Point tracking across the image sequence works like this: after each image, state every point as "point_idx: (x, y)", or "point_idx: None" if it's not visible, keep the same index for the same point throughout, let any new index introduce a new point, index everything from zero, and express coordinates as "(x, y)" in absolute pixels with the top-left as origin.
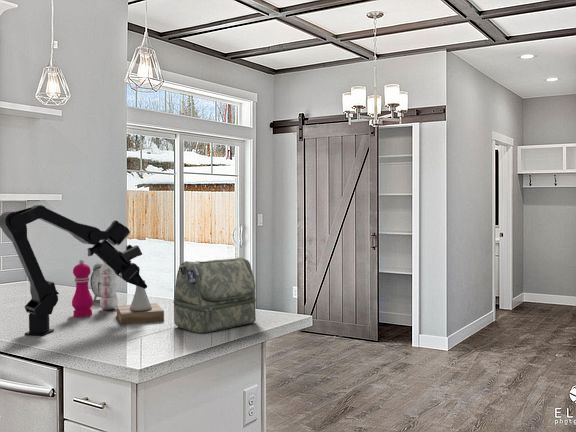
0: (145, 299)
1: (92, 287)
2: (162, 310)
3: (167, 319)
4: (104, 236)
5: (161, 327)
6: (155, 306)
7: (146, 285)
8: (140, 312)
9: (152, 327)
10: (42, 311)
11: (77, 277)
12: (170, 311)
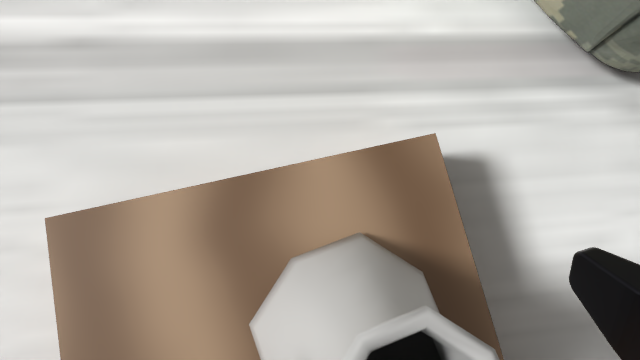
0: (412, 288)
1: None
2: (423, 144)
3: (360, 136)
4: None
5: (610, 160)
6: (221, 214)
7: (622, 260)
8: (491, 320)
9: (608, 216)
10: None
11: None
12: (59, 128)
